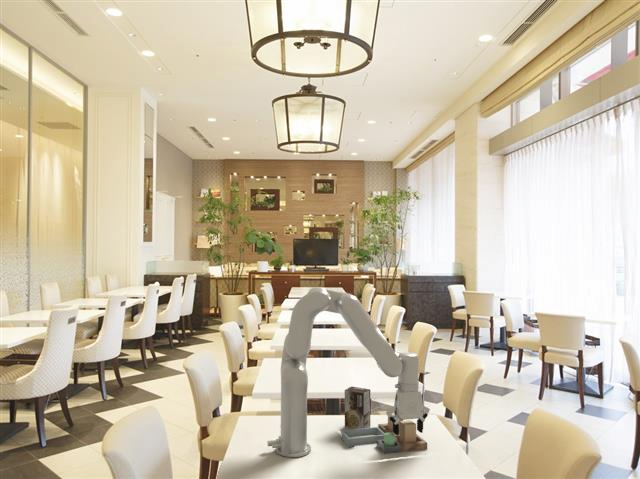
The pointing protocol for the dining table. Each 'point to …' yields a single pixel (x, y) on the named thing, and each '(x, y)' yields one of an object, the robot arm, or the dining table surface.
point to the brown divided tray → (409, 446)
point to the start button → (389, 439)
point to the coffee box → (357, 408)
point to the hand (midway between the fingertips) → (408, 432)
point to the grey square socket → (389, 447)
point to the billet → (407, 431)
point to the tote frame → (361, 440)
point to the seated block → (390, 424)
